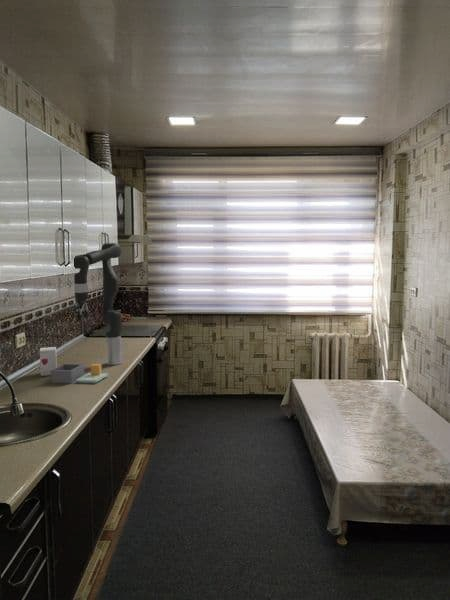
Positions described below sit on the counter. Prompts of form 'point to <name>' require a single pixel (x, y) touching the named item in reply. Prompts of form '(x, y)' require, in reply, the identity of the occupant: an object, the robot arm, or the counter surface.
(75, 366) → the tub
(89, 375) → the lid
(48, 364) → the supplement box
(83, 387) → the counter surface
